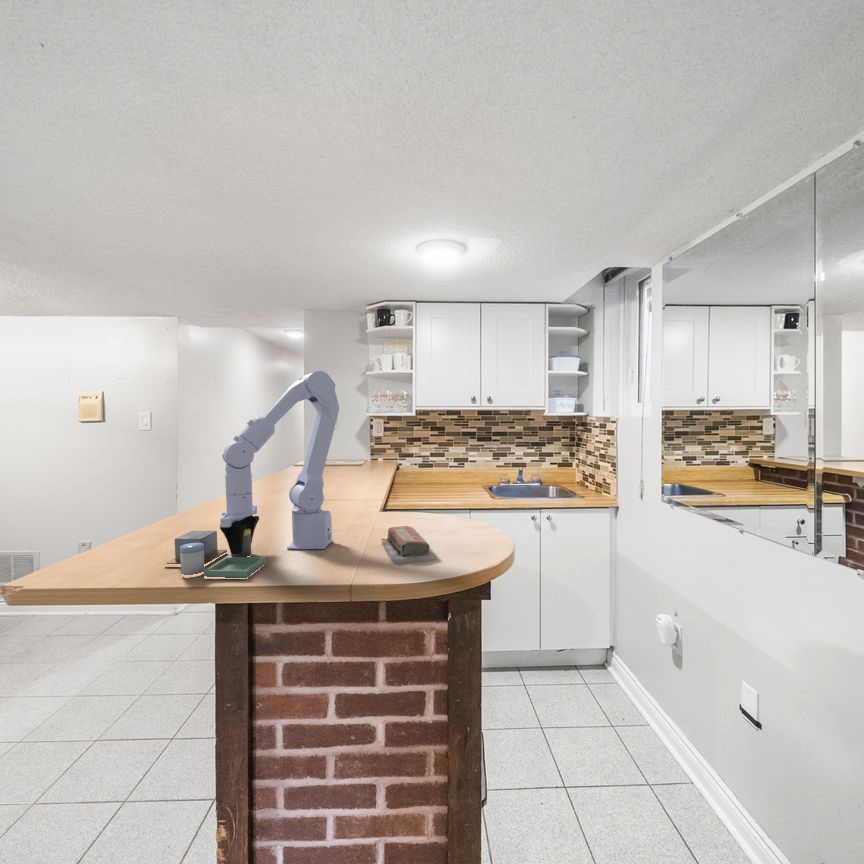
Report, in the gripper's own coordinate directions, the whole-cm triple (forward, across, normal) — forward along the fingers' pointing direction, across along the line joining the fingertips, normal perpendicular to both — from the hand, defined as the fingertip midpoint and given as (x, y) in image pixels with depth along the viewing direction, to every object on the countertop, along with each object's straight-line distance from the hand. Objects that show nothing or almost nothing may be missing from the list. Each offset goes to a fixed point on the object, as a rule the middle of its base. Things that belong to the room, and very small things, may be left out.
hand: (241, 550), depth 110 cm
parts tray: (+1, +11, +4) cm, 12 cm away
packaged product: (+2, -4, +39) cm, 39 cm away
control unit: (+1, +3, -9) cm, 10 cm away
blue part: (+1, +12, -4) cm, 13 cm away
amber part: (+1, 0, 0) cm, 1 cm away
